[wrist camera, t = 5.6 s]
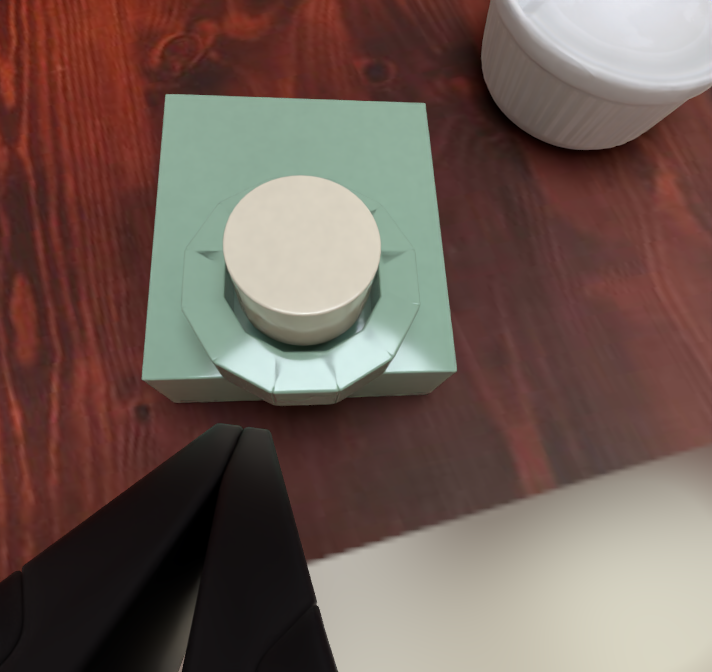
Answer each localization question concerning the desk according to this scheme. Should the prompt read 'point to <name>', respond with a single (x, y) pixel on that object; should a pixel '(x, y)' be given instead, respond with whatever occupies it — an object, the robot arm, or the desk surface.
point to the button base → (211, 277)
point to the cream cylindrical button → (301, 258)
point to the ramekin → (595, 65)
